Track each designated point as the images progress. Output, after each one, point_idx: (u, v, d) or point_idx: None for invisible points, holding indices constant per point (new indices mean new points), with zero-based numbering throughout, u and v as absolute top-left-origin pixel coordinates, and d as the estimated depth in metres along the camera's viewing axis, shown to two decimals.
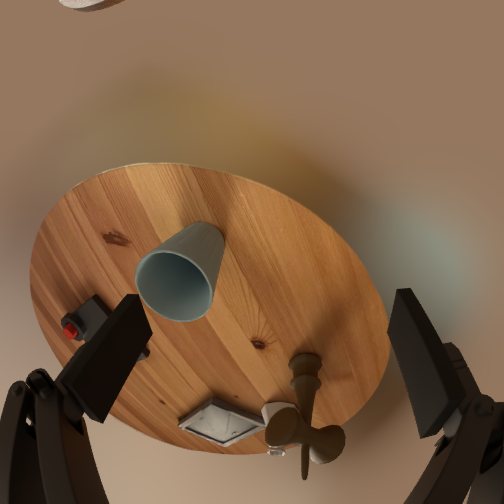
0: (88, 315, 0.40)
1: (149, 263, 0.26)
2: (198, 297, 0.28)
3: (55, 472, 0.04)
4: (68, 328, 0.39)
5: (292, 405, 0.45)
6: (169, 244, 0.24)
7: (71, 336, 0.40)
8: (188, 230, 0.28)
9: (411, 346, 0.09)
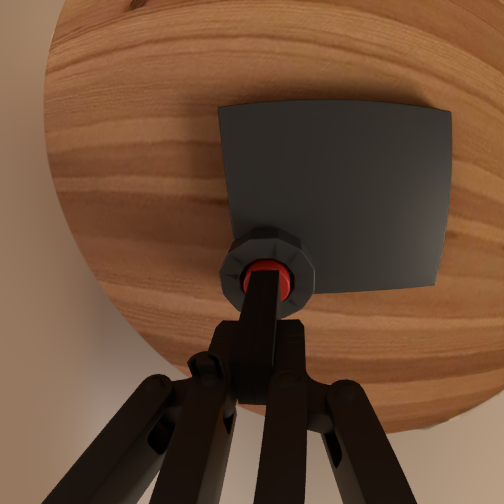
0: (260, 177, 0.15)
1: None
2: None
3: (181, 481, 0.05)
4: (253, 266, 0.15)
5: None
6: None
7: None
8: None
9: None
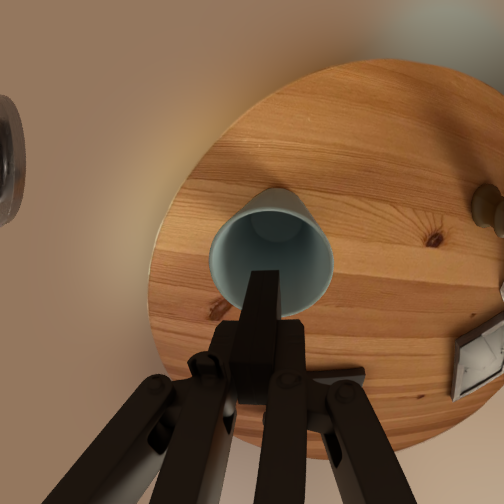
0: None
1: (235, 278, 0.20)
2: (318, 252, 0.19)
3: (181, 481, 0.05)
4: None
5: None
6: None
7: None
8: None
9: None
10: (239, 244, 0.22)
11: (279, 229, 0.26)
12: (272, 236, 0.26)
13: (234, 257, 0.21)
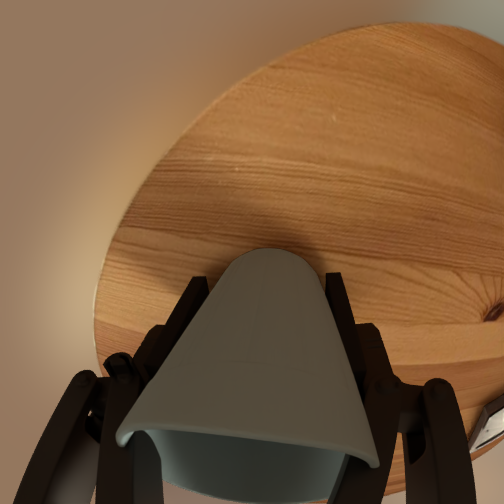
0: None
1: (187, 440, 0.09)
2: None
3: (116, 470, 0.05)
4: None
5: None
6: None
7: None
8: None
9: None
10: None
11: None
12: None
13: None
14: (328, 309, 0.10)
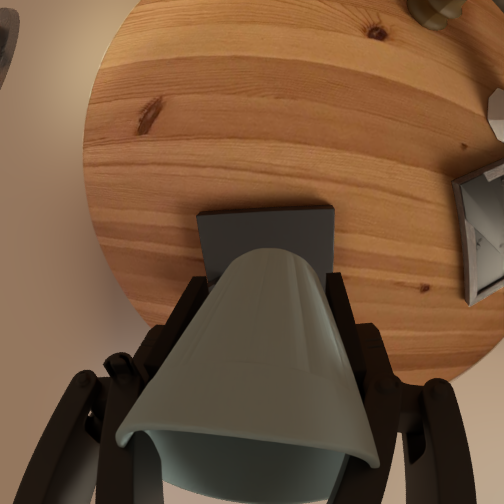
0: (219, 252, 0.29)
1: (187, 441, 0.09)
2: None
3: (116, 470, 0.05)
4: None
5: (498, 89, 0.17)
6: None
7: None
8: None
9: None
10: None
11: None
12: None
13: None
14: (328, 309, 0.10)
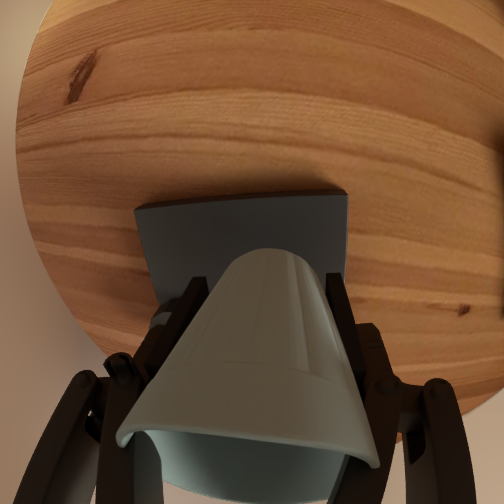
0: (170, 264, 0.19)
1: (187, 441, 0.09)
2: None
3: (116, 470, 0.05)
4: None
5: None
6: None
7: None
8: None
9: None
10: None
11: None
12: None
13: None
14: (328, 309, 0.10)
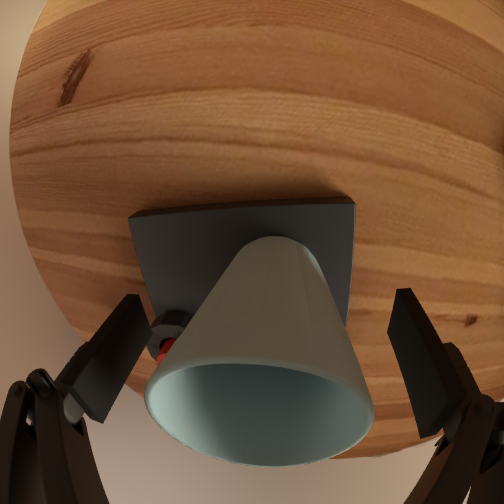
0: (166, 274, 0.18)
1: (202, 405, 0.11)
2: None
3: (55, 472, 0.04)
4: (162, 349, 0.18)
5: None
6: None
7: None
8: None
9: (411, 346, 0.09)
10: None
11: None
12: None
13: (201, 368, 0.12)
14: (326, 285, 0.12)
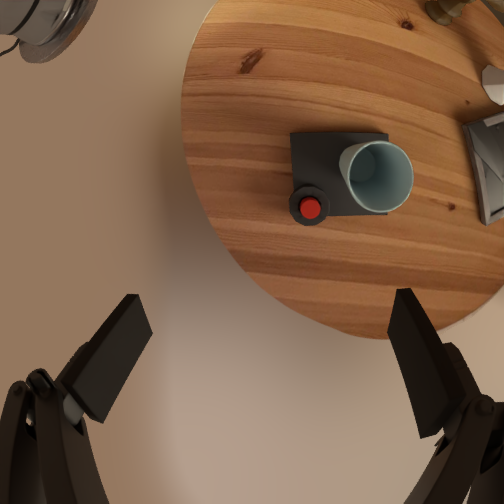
0: (306, 162, 0.35)
1: (352, 190, 0.28)
2: (397, 178, 0.28)
3: (55, 472, 0.04)
4: (304, 200, 0.35)
5: (489, 65, 0.23)
6: (349, 157, 0.26)
7: (315, 205, 0.35)
8: (344, 155, 0.30)
9: (411, 346, 0.09)
10: None
11: (360, 173, 0.34)
12: (355, 177, 0.35)
13: None
14: None
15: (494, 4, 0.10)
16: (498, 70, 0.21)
